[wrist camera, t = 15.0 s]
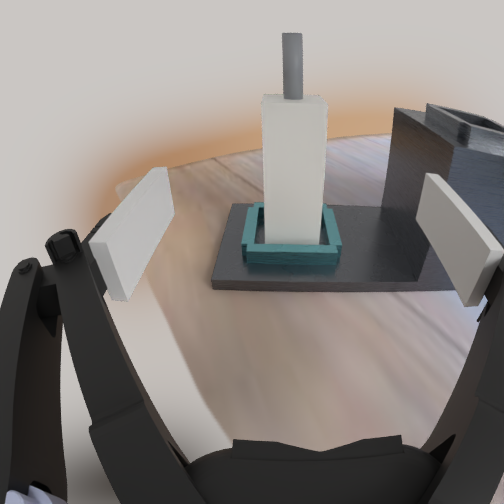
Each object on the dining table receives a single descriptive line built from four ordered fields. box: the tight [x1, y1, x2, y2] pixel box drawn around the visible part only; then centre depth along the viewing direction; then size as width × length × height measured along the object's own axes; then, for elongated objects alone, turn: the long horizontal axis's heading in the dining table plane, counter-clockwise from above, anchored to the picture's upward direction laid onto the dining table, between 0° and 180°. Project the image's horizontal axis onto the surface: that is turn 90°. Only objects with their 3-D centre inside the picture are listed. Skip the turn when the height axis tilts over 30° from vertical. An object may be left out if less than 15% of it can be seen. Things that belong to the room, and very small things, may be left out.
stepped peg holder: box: [211, 103, 504, 292], centre depth 24 cm, size 13×28×13 cm, turn 85°
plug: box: [261, 33, 328, 245], centre depth 23 cm, size 5×4×17 cm
